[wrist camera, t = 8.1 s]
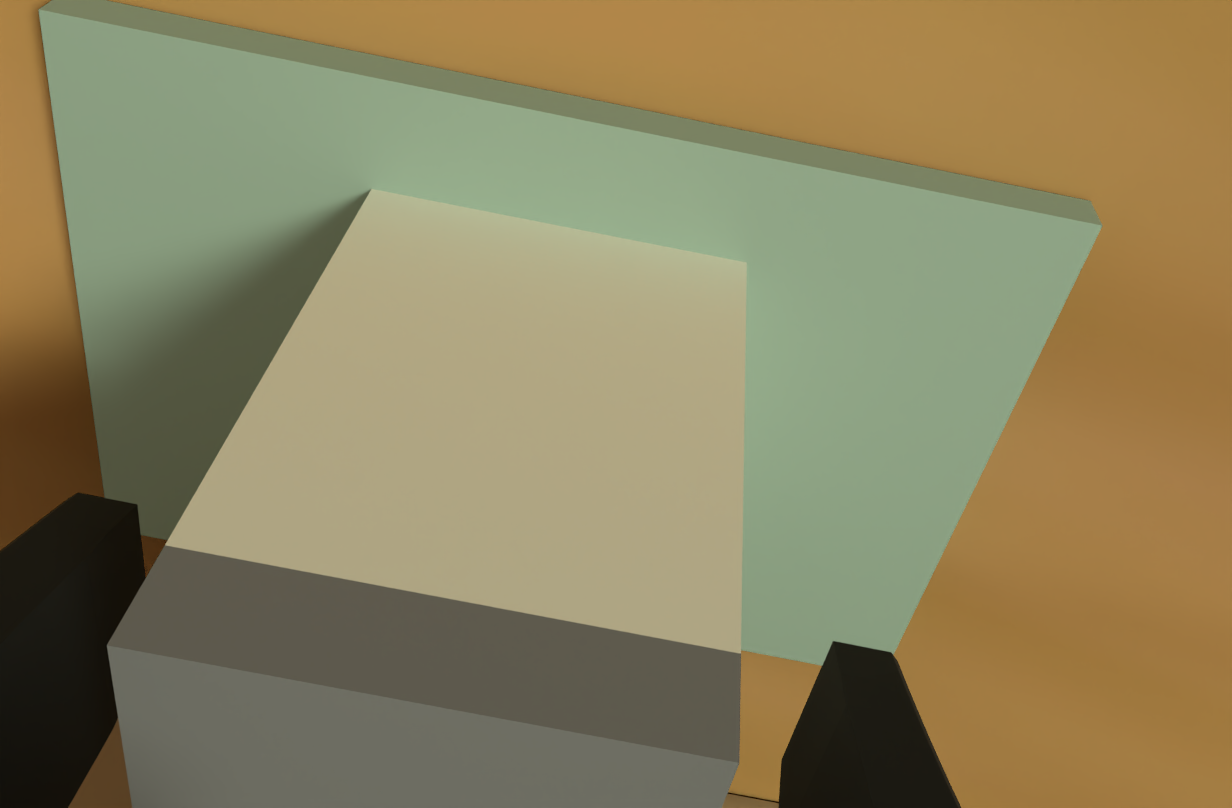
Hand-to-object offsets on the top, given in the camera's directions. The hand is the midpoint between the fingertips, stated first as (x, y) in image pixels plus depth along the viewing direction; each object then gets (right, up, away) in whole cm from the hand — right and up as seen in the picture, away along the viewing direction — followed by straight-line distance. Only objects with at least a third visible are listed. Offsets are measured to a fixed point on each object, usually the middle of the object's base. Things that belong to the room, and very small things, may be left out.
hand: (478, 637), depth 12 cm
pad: (0, +3, +4) cm, 5 cm away
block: (0, +2, +3) cm, 4 cm away
